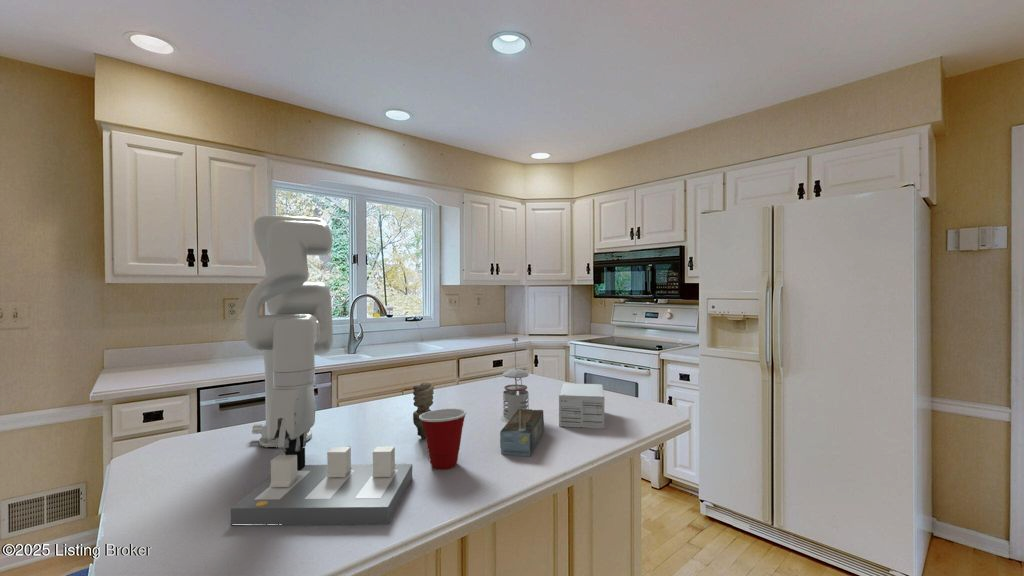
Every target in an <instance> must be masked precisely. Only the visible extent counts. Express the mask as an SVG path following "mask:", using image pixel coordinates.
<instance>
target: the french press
mask: <svg viewBox="0 0 1024 576" xmlns="http://www.w3.org/2000/svg"><path fill="white" fill-rule="evenodd" d="M511 341H512V342H514V368H511V369H508V370H506V371H504V372H503V373H502V376H503V377H505V378H509V379H514V382H515V384H508V385H505V386H504V387H503V388H504V390H503V391H502V397H503V399H502V402H503V403H502V405H503V406H502V407H503V409H502V411H503V412H502V413H503V415H501V417H500V418H501V420H502V421H501V420H500V421H501V422H503V421H505V422H504V423H506V422H508V421H509V420H510V419H511V418H512V416H513V415H514V414H515V413H516V411H517V410H518V409H524V410H528V409H529V407H530V406H529V405H530V404H529V403H530V402H529V401H530V400H529V396H530V395H529V391H528V390H527V389H528V386H527V385H525V384H523V380H522V378H527V377H528V376H530V375H529V374H530V373H529V372H528V371H526V370H523V369H521V368H517V366H516V365H517V361H516V360H517V358H516V356H517V354H516V352H517V351H516V348H517V347H516V345H517V344H516V342H519V338H518V337H515V336H514V337H512V340H511ZM518 381H520V384H518ZM517 392H518V394H517Z"/></svg>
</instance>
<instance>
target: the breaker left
mask: <svg viewBox="0 0 1024 576" xmlns="http://www.w3.org/2000/svg"><path fill="white" fill-rule="evenodd" d="M270 477H271V483H270V487H289V486H291V485H292V484H293V483H294V482H295V481H296V480H297V479H298V475H297V455H285V454H278V455H277V456H275V457H274V458H273V459H271V460H270Z"/></svg>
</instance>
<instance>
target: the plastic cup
mask: <svg viewBox="0 0 1024 576" xmlns="http://www.w3.org/2000/svg"><path fill="white" fill-rule="evenodd" d="M466 415H467V409H466V410H465V409H462V408H441V409H440V408H439V409H433V410H431V411H429V412H426V413H423V414H421V415H419V419H420V420H421V422H422V425H423V428H424V431H425V436H426V438H425V440H426V447H427V452H428V455H429V462H430V465H431V468H433V469H436V470H438V471H439V470H441V471H442V470H443V471H444V470H449V469H452V468H455V467H456V466H457V462H458V459H459V452H460V449H461V448H460V447H461V441H462V440H461V439H462V432H463V427H464V422H465V417H466Z"/></svg>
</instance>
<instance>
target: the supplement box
mask: <svg viewBox="0 0 1024 576" xmlns="http://www.w3.org/2000/svg"><path fill="white" fill-rule="evenodd" d="M603 387H604V386H603V384H599V383H569V382H568V383H567V382H566V383H565V382H563V383H561V388H560V391H559V395H558V426H559V427H563V426H564V427H565V428H580V427H583V428H582V429H584V428H585V427H586V428H585V429H598V428H599V429H601V430H604V429H605V393H604V388H603Z"/></svg>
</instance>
